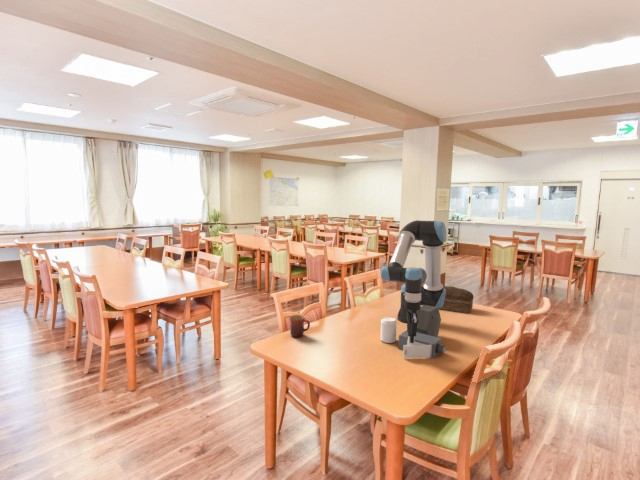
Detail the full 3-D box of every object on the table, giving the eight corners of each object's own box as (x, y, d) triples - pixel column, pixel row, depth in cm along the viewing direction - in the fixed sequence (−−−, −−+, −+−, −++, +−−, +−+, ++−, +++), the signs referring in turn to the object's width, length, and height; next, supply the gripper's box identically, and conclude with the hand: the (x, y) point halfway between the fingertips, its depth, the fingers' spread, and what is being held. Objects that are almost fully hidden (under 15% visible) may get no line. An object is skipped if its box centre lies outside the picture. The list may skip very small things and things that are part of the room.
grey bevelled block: (429, 322, 207) (422, 297, 196) (442, 325, 202) (436, 300, 191) (418, 345, 197) (410, 320, 186) (432, 349, 192) (425, 323, 181)
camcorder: (398, 348, 181) (398, 333, 180) (407, 342, 189) (407, 328, 188) (440, 360, 168) (440, 344, 167) (447, 353, 176) (448, 338, 175)
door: (404, 359, 168) (404, 345, 168) (403, 357, 170) (403, 344, 170) (432, 359, 169) (433, 345, 168) (431, 357, 171) (431, 344, 170)
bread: (427, 302, 266) (428, 281, 265) (474, 309, 251) (475, 286, 249) (422, 307, 254) (423, 285, 252) (471, 314, 238) (472, 291, 237)
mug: (286, 336, 196) (286, 318, 195) (294, 331, 204) (294, 314, 203) (305, 340, 191) (305, 321, 190) (312, 335, 199) (313, 317, 198)
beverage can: (386, 344, 186) (387, 322, 185) (377, 339, 193) (377, 318, 192) (398, 342, 190) (399, 320, 189) (389, 337, 197) (389, 315, 196)
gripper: (401, 296, 176) (400, 343, 179) (408, 304, 163) (406, 354, 166) (417, 297, 176) (415, 343, 178) (424, 304, 163) (422, 354, 166)
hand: (410, 348), depth 172 cm, fingers closed
